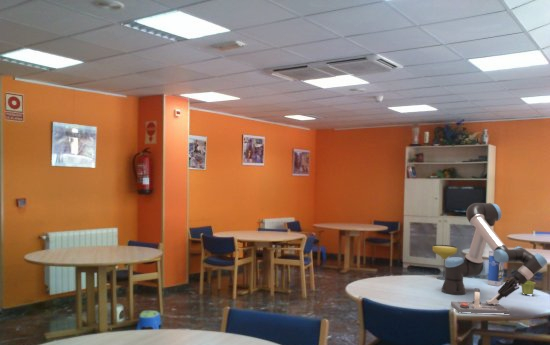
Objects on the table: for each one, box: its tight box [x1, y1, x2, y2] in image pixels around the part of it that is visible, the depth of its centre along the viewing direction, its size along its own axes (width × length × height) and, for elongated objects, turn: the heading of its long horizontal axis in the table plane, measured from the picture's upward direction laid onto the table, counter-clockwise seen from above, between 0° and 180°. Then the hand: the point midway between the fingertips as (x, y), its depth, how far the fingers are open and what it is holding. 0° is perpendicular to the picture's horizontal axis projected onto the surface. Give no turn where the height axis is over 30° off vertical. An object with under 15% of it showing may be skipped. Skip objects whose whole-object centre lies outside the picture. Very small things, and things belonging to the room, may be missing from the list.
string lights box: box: [487, 248, 505, 287], centre depth 353 cm, size 13×8×26 cm, turn 139°
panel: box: [450, 300, 511, 314], centre depth 280 cm, size 28×16×5 cm, turn 86°
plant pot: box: [520, 280, 536, 295], centre depth 322 cm, size 9×9×9 cm
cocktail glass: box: [432, 244, 458, 281], centre depth 367 cm, size 18×18×25 cm
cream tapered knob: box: [473, 291, 481, 308], centre depth 275 cm, size 4×3×9 cm
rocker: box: [485, 298, 499, 304], centre depth 284 cm, size 6×4×2 cm, turn 86°
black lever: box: [471, 288, 482, 304], centre depth 284 cm, size 4×3×9 cm
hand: (492, 302), depth 275 cm, fingers closed
